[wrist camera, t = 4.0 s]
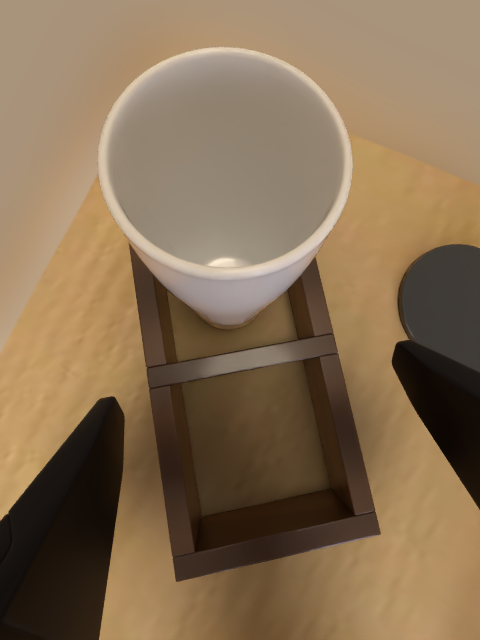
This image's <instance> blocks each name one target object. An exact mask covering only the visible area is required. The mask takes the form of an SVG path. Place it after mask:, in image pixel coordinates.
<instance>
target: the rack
mask: <svg viewBox="0 0 480 640" xmlns="http://www.w3.org/2000/svg"><path fill="white" fill-rule="evenodd" d="M129 248H130V255H131V262H132V269H133V276H134V283H135V291H136V298H137V305H138V312H139V319H140V326H141V334H142V341H143V348H144V355H145V362H146V367H147V377H148V384H149V388H150V389H149V392H150V399H151V406H152V413H153V421H154V428H155V435H156V442H157V449H158V456H159V464H160V471H161V478H162V485H163V492H164V499H165V507H166V514H167V521H168V528H169V535H170V542H171V550H172V556H173V563H174V570H175V578H176V582H179V581H183V580H187V579H191V578H196V577H200V576H204V575H209V574H213V573H217V572H222V571H226V570H230V569H235V568H239V567H243V566H247V565H252V564H256V563H260V562H265V561H269V560H273V559H278V558H282V557H286V556H291V555H295V554H299V553H304V552H308V551H312V550H316V549H321V548H325V547H329V546H334V545H338V544H342V543H347V542H351V541H355V540H360V539H364V538H368V537H372V536H377V535H380V534H381V533H380V528H379V524H378V520H377V516H376V512H375V507H374V503H373V499H372V495H371V490H370V486H369V482H368V478H367V473H366V469H365V465H364V461H363V457H362V452H361V448H360V444H359V440H358V435H357V431H356V427H355V423H354V419H353V414H352V410H351V406H350V402H349V397H348V393H347V389H346V385H345V381H344V376H343V372H342V368H341V364H340V359H339V355H338V351H337V347H336V342H335V338H334V334H332V333H333V329H332V325H331V321H330V317H329V313H328V308H327V304H326V300H325V296H324V291H323V287H322V283H321V279H320V275H319V270H318V266H317V262H316V258H314V259H313V260H312V262H311V263H310V264H309V266H308V267H307V268H306V270H305V271H304V272H303V274H302V275H301V276H300V277H299V278H298V279H297V280H296V282H295V283H294V284H293V285H292V286H291V287H290V288H289V289H288V292H289V297H290V301H291V306H292V311H293V315H294V320H295V324H296V329H297V334H298V338H299V340H294V341H289V342H284V343H278V344H273V345H268V346H262V347H257V348H251V349H246V350H241V351H235V352H230V353H225V354H219V355H214V356H209V357H203V358H198V359H193V360H187V361H182V362H177V356H176V350H175V343H174V337H173V330H172V324H171V317H170V311H169V305H168V298H167V292H166V288H165V287H164V286H163V285H162V284H161V283H160V282H159V281H158V280H157V279H156V278H155V276H154V275H153V274H152V273H151V272H150V271H149V269H148V268H147V267H146V266H145V264H144V263H143V262H142V260H141V259H140V258H139V256H138V255H137V253H136V252H135V251H134V249H133V248H132V246H131V245H130V243H129ZM299 360H303V361H304V365H305V370H306V374H307V379H308V384H309V388H310V393H311V397H312V402H313V406H314V411H315V416H316V420H317V425H318V429H319V434H320V439H321V443H322V448H323V452H324V457H325V461H326V466H327V471H328V475H329V480H330V484H331V488H332V489H329V490H324V491H320V492H315V493H311V494H306V495H302V496H297V497H293V498H288V499H284V500H279V501H274V502H270V503H265V504H261V505H256V506H252V507H247V508H243V509H238V510H234V511H229V512H224V513H220V514H215V515H211V516H206V517H202V518H201V510H200V504H199V497H198V491H197V484H196V478H195V471H194V465H193V459H192V452H191V446H190V439H189V433H188V426H187V420H186V414H185V407H184V401H183V394H182V388H181V383H184V382H189V381H194V380H199V379H205V378H210V377H215V376H220V375H225V374H231V373H236V372H241V371H246V370H252V369H257V368H262V367H267V366H272V365H278V364H283V363H288V362H293V361H299Z"/></svg>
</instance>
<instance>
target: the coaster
mask: <svg viewBox="0 0 480 640" xmlns="http://www.w3.org/2000/svg"><path fill="white" fill-rule="evenodd" d="M398 306H399V314H400V318H401V321H402V324H403V327H404V329H405V331H406V333H407V335H408V337H409V338H410V340H412V341H415V342H417V343H419V344H421V345H423V346H425V347H427V348H430V349H432V350H434V351H436V352H438V353H440V354H442V355H445V356H447V357H449V358H451V359H453V360H455V361H457V362H459V363H462V364H464V365H466V366H468V367H470V368H472V369H474V370H476V371H479V372H480V248H477V247H474V246H469V245H461V244H455V245H446V246H441V247H438V248H435V249H433V250H431V251H429V252H427V253H425V254H424V255H422V256H421V257H419V258H418V259H417V260H416V261H415V262H414V263H413V264H412V265H411V266H410V267H409V269H408V270H407V272H406V274H405V275H404V278H403V280H402V282H401V286H400V290H399V297H398Z"/></svg>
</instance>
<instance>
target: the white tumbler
mask: <svg viewBox="0 0 480 640" xmlns="http://www.w3.org/2000/svg"><path fill="white" fill-rule="evenodd" d="M97 164H98V176H99V181H100V187H101V190H102V193H103V197H104V200H105V202H106V204H107V207H108V209H109V211H110V213H111V215H112V216H113V218H114V220H115V222H116V223H117V224H118V226H119V227H120V229H121V230H122V232H123V234H124V235H125V237H126V238H127V240H128V242H129V243H130V245H131V246H132V248H133V249H134V251H135V252H136V253H137V255H138V256H139V258H140V259H141V260H142V262H143V263H144V264H145V266H146V267H147V268H148V269H149V271H150V272H151V273H152V274H153V275H154V276H155V278H156V279H157V280H158V281H159V282H160V283H161V284H162V285H163V286H164V287H165V288H166V289H167V290H168V291H169V292H171V293H172V294H173V295H174V296H175V297H176V298H178V299H179V300H180V301H182V302H183V303H184V304H186V305H187V306H188V307H190V308H191V309H193V310H194V311H195V312H196V313H197V314H198V315H199V316H200V317H201V318H202V319H203V320H204V321H205V322H206V323H208V324H210V325H211V326H214V327H216V328H220V329H237V328H240V327H243V326H245V325H247V324H249V323H250V322H252V321H253V320H254V319H255V318H256V317H257V316H258V314H259V313H260V312H261V311H262V310H264V309H265V308H266V307H267V306H269V305H270V304H271V303H273V302H274V301H275V300H276V299H278V298H279V297H280V296H281V295H282V294H283V293H285V292H286V291H287V290H288V289H289V288H290V287H291V286H292V285H293V284H294V283H295V282H296V280H297V279H298V278H299V277H300V276H301V275H302V274H303V272H304V271H305V270H306V268H307V267H308V266H309V264H310V263H311V262H312V260H313V259H314V258H315V256H316V255H317V253H318V252H319V250H320V248H321V247H322V245H323V244H324V242H325V240H326V239H327V237H328V235H329V233H330V232H331V230H332V229H333V227H334V226H335V224H336V222H337V221H338V219H339V217H340V215H341V213H342V211H343V209H344V207H345V204H346V201H347V198H348V195H349V191H350V187H351V182H352V172H353V158H352V149H351V144H350V140H349V136H348V133H347V130H346V127H345V124H344V122H343V120H342V118H341V116H340V114H339V112H338V110H337V109H336V107H335V105H334V104H333V102H332V101H331V100H330V98H329V97H328V95H327V94H326V93H325V92H324V91H323V90H322V89H321V88H320V87H319V86H318V85H317V84H316V83H315V82H314V81H313V80H312V79H311V78H309V77H308V76H307V75H306V74H305V73H303V72H302V71H300V70H298V69H297V68H296V67H294V66H292V65H290V64H288V63H287V62H285V61H283V60H281V59H278V58H276V57H274V56H271V55H268V54H265V53H262V52H258V51H254V50H249V49H243V48H235V47H211V48H203V49H196V50H192V51H188V52H184V53H181V54H178V55H175V56H172V57H170V58H168V59H165V60H163V61H161V62H160V63H158V64H156V65H154V66H152V67H151V68H149V69H148V70H146V71H145V72H143V73H142V74H141V75H140V76H138V77H137V78H136V79H135V80H134V81H132V83H131V84H130V85H129V86H128V87H127V88H126V89H125V90H124V91H123V92H122V94H121V95H120V96H119V97H118V99H117V100H116V102H115V104H114V105H113V107H112V108H111V110H110V112H109V114H108V116H107V118H106V121H105V123H104V126H103V129H102V132H101V136H100V140H99V148H98V163H97Z"/></svg>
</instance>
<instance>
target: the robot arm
mask: <svg viewBox="0 0 480 640" xmlns="http://www.w3.org/2000/svg"><path fill="white" fill-rule="evenodd" d="M392 366H393V368H394V370H395V372H396V374H397V376H398V378H399V380H400V382H401V384H402V386H403V388H404V390H405V392H406V394H407V396H408V398H409V400H410V402H411V404H412V405H413V407H414V409H415V411H416V412H417V414H418V415H419V417H420V418H421V420H422V422H423V423H424V425H425V426H426V428H427V429H428V431H429V432H430V434H431V435H432V437H433V438H434V440H435V442H436V443H437V445H438V446H439V448H440V449H441V451H442V452H443V454H444V455H445V457H446V458H447V460H448V462H449V463H450V465H451V466H452V468H453V469H454V471H455V472H456V474H457V475H458V477H459V478H460V480H461V482H462V483H463V485H464V486H465V488H466V489H467V491H468V492H469V494H470V495H471V497H472V498H473V500H474V502H475V503H476V505H477V506H478V508H479V509H480V372H479V371H476V370H474V369H472V368H470V367H468V366H466V365H464V364H462V363H459V362H457V361H455V360H453V359H451V358H449V357H447V356H445V355H442V354H440V353H438V352H436V351H434V350H432V349H430V348H427V347H425V346H423V345H421V344H419V343H417V342H415V341H412V340H405V341H399V342H397V344H396V346H395V349H394V353H393V357H392ZM124 423H125V419H124V413H123V411H122V409H121V407H120V405H119V404H118V402H117V400H116V398H115V397H113V396H111V397H105V398H101V399H99V400H98V401H97V402H96V404H95V405H94V406H93V407H92V409H91V410H90V411H89V412H88V414H87V415H86V416H85V417H84V419H83V420H82V421H81V422H80V423H79V425H78V426H77V427H76V428H75V430H74V431H73V432H72V433H71V435H70V436H69V437H68V438H67V440H66V441H65V442H64V443H63V445H62V446H61V447H60V448H59V449H58V451H57V452H56V453H55V454H54V456H53V457H52V458H51V459H50V461H49V462H48V463H47V464H46V466H45V467H44V468H43V469H42V471H41V472H40V473H39V474H38V475H37V477H36V478H35V479H34V480H33V482H32V483H31V484H30V485H29V487H28V488H27V489H26V490H25V492H24V493H23V494H22V495H21V497H20V498H19V499H18V500H17V501H16V503H15V504H14V505H13V506H12V508H11V509H10V510H9V512H8V514H6V515H5V516H4V517H3V519H2V520H1V521H0V640H99V635H100V628H101V621H102V614H103V607H104V600H105V593H106V586H107V579H108V572H109V565H110V558H111V551H112V544H113V537H114V530H115V523H116V516H117V509H118V502H119V495H120V488H121V481H122V473H123V460H124Z"/></svg>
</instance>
